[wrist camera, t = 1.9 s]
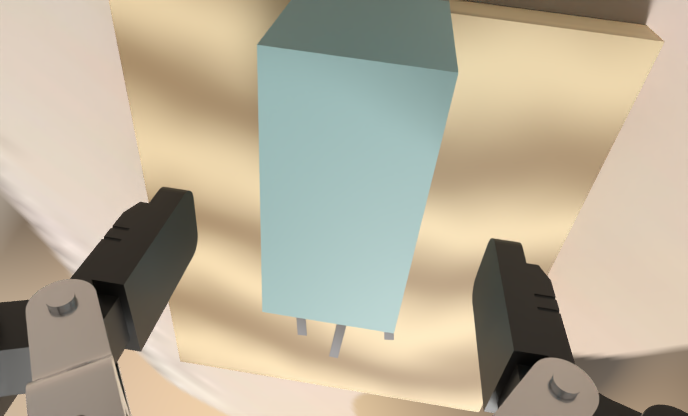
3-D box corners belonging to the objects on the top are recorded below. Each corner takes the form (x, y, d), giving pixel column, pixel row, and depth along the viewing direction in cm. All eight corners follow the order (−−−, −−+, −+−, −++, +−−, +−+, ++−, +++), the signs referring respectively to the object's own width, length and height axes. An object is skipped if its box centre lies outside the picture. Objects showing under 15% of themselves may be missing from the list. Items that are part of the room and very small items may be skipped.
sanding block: (308, -23, 15) (256, 45, 11) (448, -5, 15) (458, 73, 11) (298, 202, 21) (262, 312, 16) (401, 218, 21) (393, 333, 16)
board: (125, -44, 17) (101, -34, 16) (646, 25, 16) (665, 42, 15) (190, 339, 31) (180, 361, 30) (476, 387, 30) (478, 412, 29)
